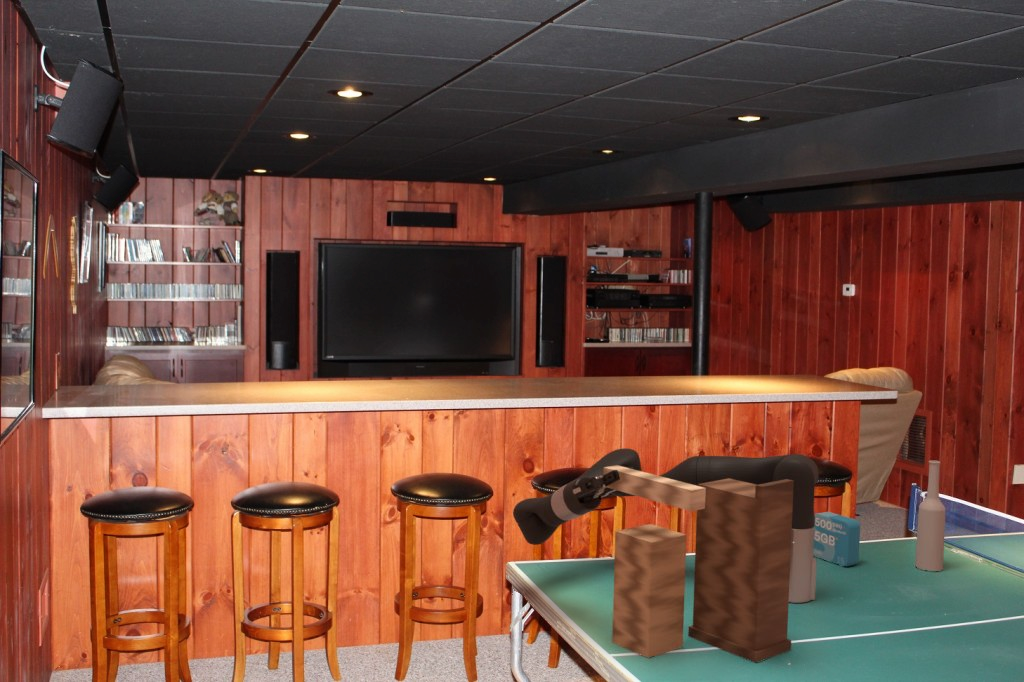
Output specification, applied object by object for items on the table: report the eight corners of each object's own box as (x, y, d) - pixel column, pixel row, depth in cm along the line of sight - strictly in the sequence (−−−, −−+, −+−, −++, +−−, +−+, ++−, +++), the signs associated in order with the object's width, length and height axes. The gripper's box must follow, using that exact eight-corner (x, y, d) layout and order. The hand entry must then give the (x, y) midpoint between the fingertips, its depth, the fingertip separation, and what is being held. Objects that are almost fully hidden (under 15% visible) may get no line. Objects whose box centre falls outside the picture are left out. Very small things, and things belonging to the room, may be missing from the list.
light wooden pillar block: (612, 642, 200) (615, 531, 198) (646, 631, 206) (649, 523, 204) (648, 658, 192) (651, 542, 190) (682, 646, 198) (686, 534, 196)
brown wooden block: (602, 486, 205) (603, 467, 204) (616, 483, 207) (617, 465, 207) (690, 511, 186) (691, 490, 186) (704, 508, 188) (705, 488, 188)
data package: (810, 556, 263) (812, 512, 262) (822, 554, 265) (824, 510, 264) (847, 568, 253) (849, 522, 252) (858, 566, 255) (861, 520, 254)
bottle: (912, 568, 254) (918, 461, 251) (918, 562, 259) (924, 457, 257) (939, 573, 250) (945, 465, 248) (945, 567, 255) (951, 461, 253)
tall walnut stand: (688, 635, 204) (693, 471, 201) (723, 624, 211) (729, 465, 208) (755, 663, 191) (762, 487, 188) (790, 649, 198) (798, 480, 195)
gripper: (545, 486, 211) (594, 459, 199) (594, 478, 220) (643, 452, 208) (556, 520, 209) (606, 494, 196) (604, 510, 218) (655, 486, 205)
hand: (625, 473), depth 202 cm, fingers closed on brown wooden block, 4 cm apart
